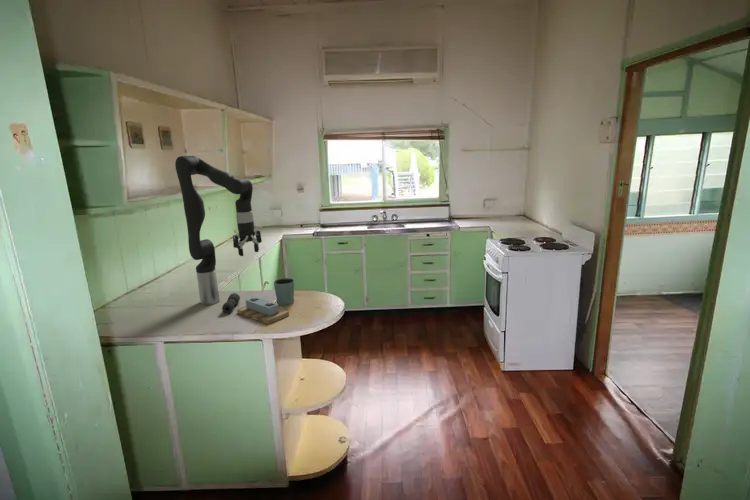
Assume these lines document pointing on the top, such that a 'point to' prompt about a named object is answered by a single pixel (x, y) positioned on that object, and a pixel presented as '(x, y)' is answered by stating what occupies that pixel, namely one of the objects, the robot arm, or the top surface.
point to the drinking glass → (284, 291)
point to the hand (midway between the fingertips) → (249, 253)
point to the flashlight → (231, 303)
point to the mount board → (261, 316)
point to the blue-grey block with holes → (262, 306)
